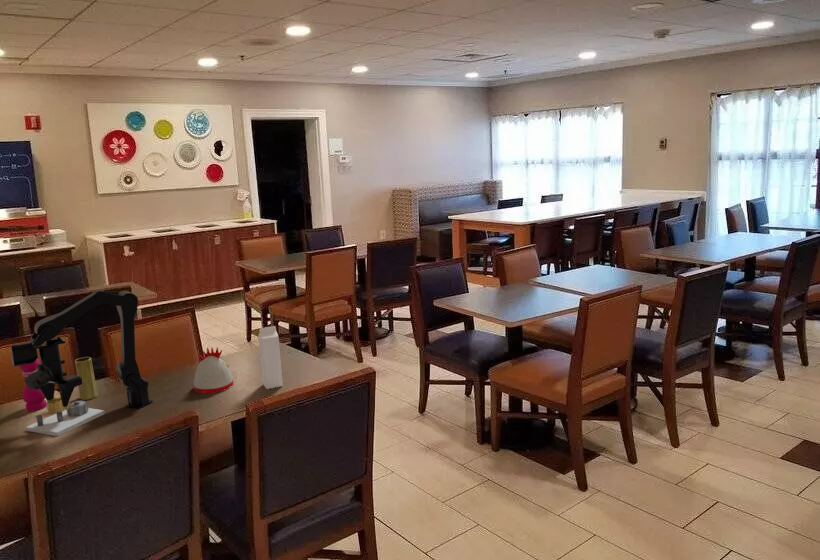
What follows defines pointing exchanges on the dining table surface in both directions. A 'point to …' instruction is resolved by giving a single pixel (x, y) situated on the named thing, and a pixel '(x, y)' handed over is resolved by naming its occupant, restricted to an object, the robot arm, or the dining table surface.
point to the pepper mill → (31, 395)
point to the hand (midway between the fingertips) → (58, 405)
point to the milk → (270, 357)
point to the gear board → (65, 419)
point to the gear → (56, 405)
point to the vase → (86, 378)
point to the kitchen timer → (212, 373)
